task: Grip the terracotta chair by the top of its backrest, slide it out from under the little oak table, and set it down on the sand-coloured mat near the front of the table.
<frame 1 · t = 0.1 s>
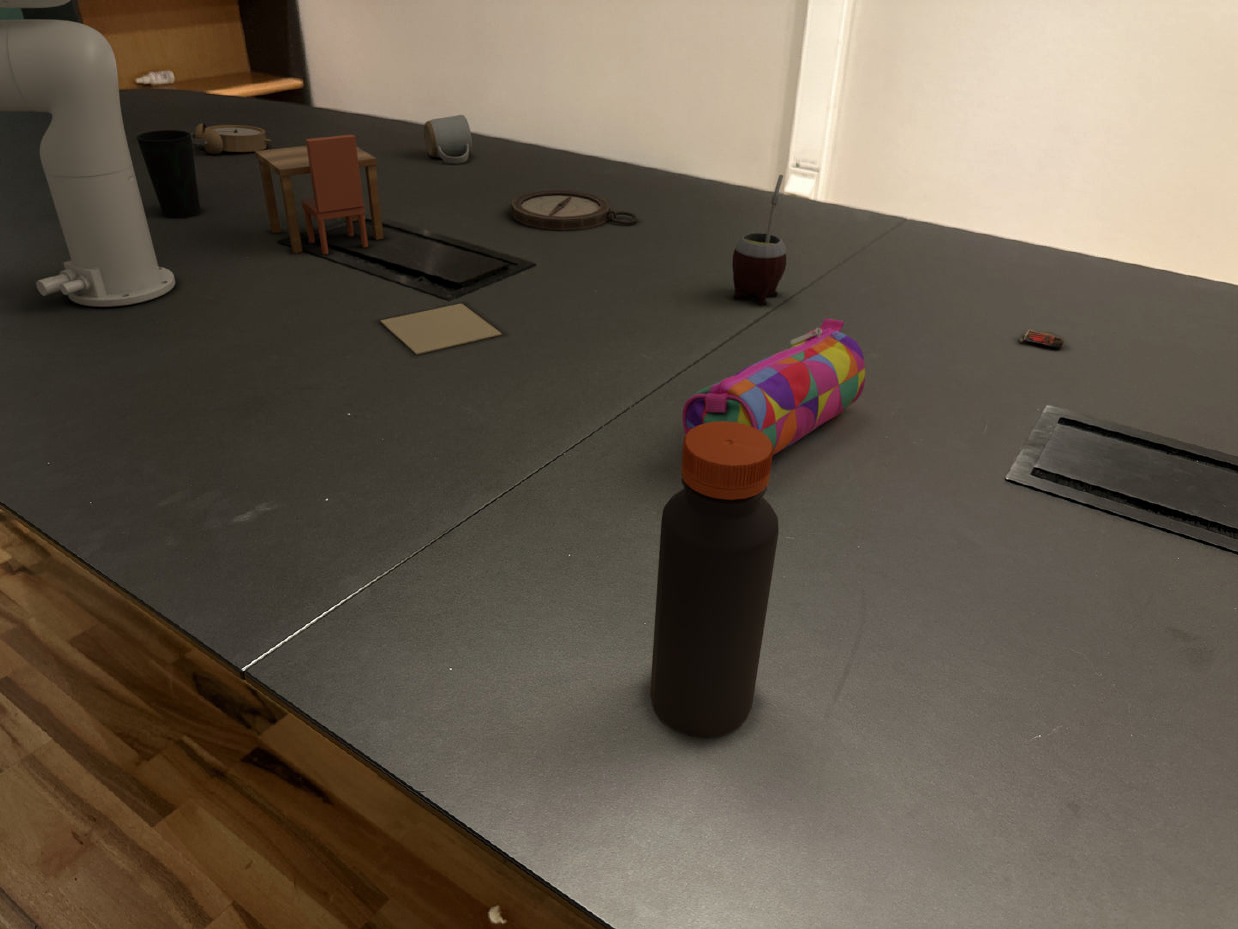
side table: (327, 235, 138), on the table
cup: (181, 213, 145), on the table
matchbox: (1042, 341, 112), on the table
bottle: (700, 702, 60), on the table
mate gourd: (755, 296, 122), on the table
mat: (440, 328, 110), on the table
compass: (566, 218, 149), on the table
alarm clock: (229, 150, 181), on the table
chair: (338, 244, 134), on the table
ceramic mug: (452, 158, 180), on the table
pencil case: (773, 435, 90), on the table
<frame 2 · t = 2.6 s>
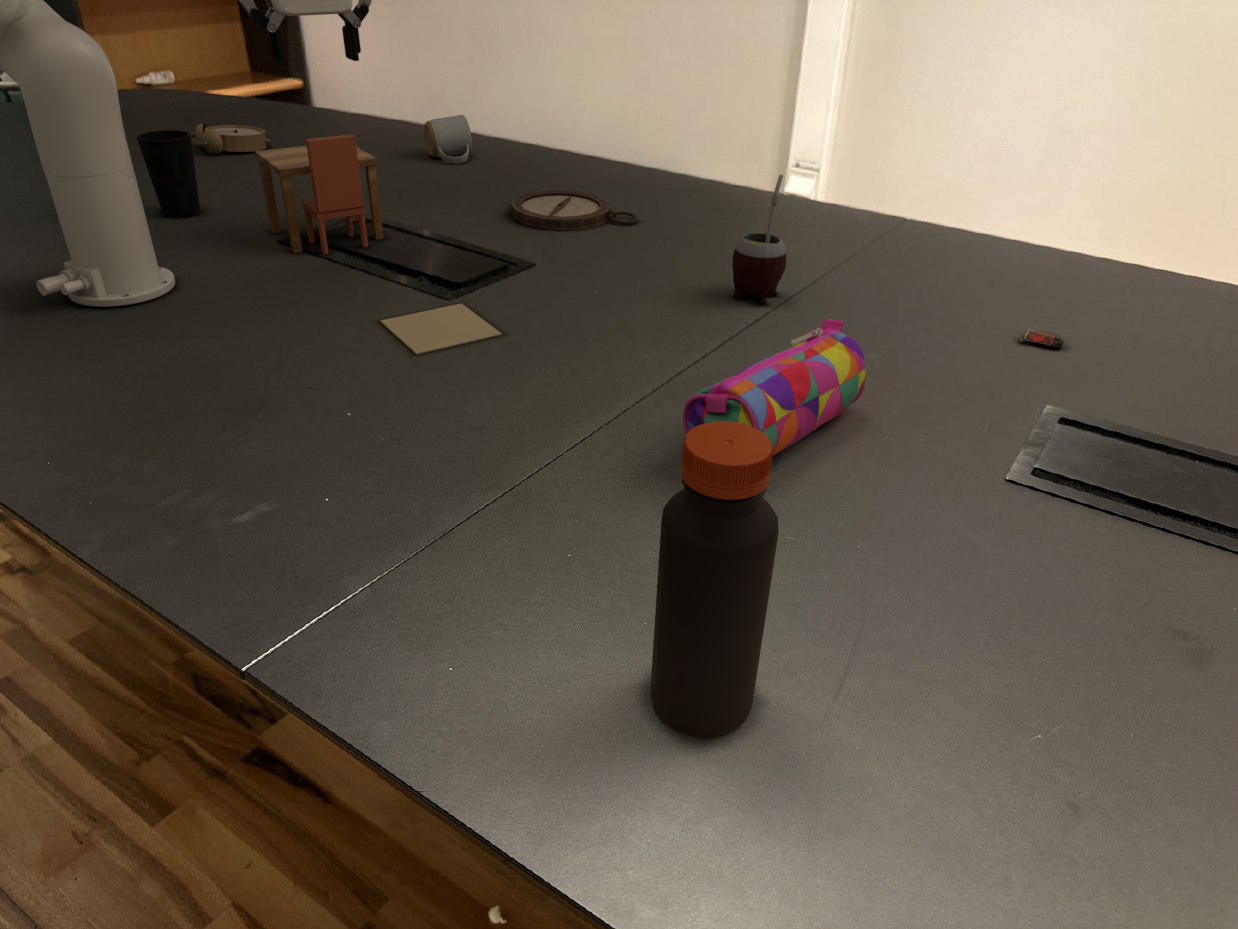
hand: (317, 62, 119), 25 cm above the table, tool pointing down, fingers open, 9 cm apart
nothing on the table moved.
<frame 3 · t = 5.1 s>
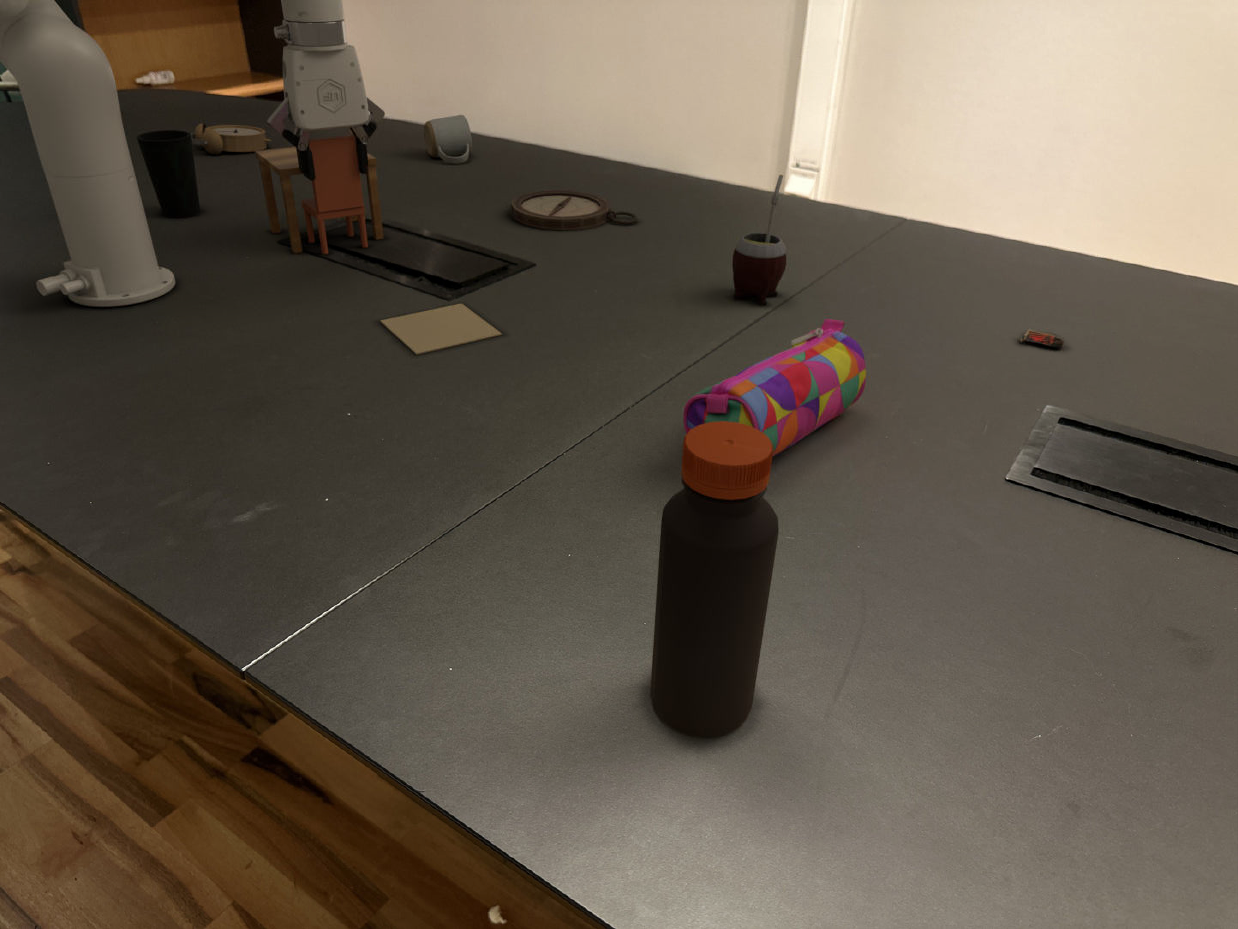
hand: (335, 173, 126), 11 cm above the table, tool pointing down, fingers closed on chair, 6 cm apart
chair: (338, 244, 134), on the table, touching gripper
everything else where it was.
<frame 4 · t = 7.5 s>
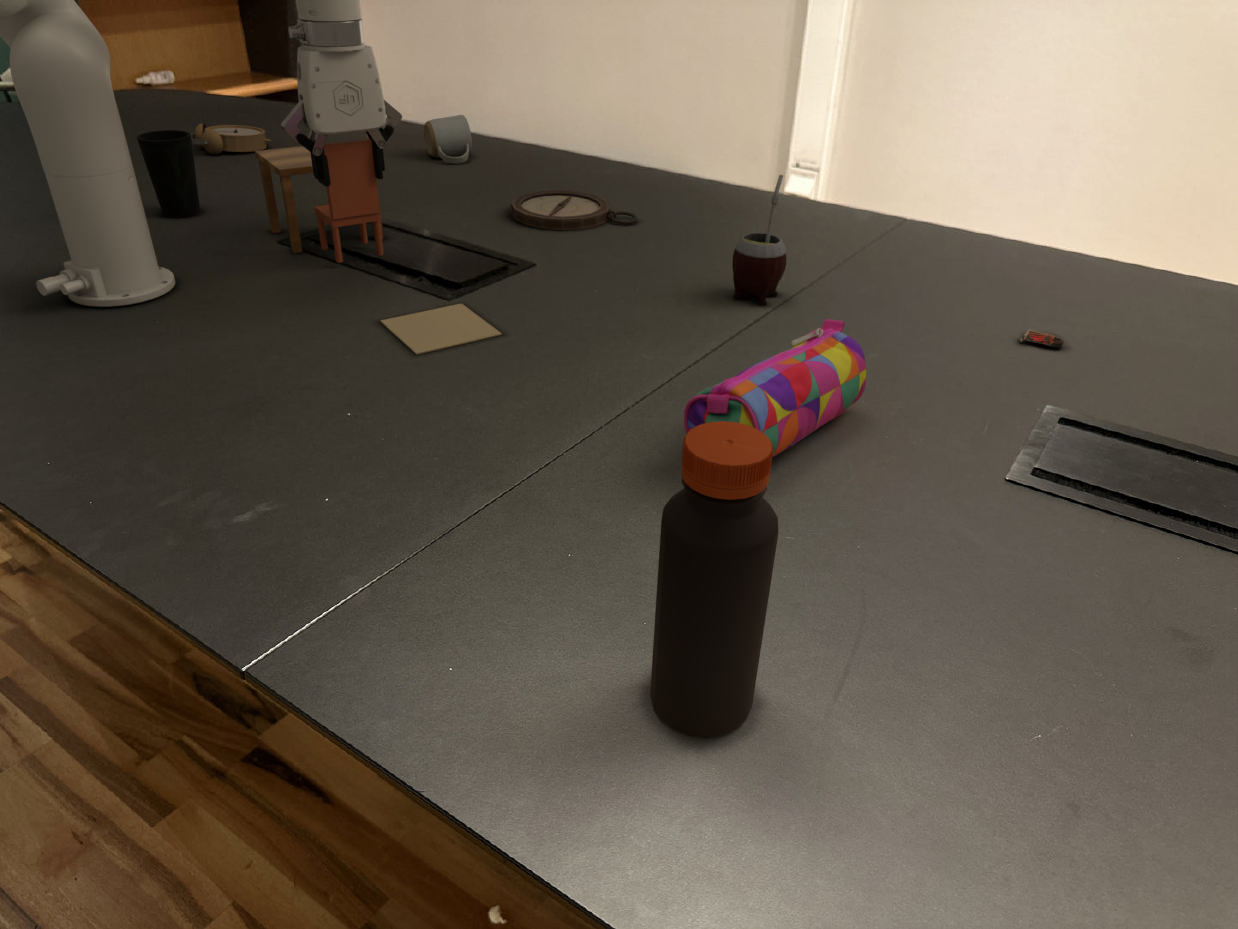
hand: (350, 179, 121), 12 cm above the table, tool pointing down, fingers closed on chair, 6 cm apart
chair: (352, 252, 130), point 1 cm above the table, touching gripper
everything else where it was.
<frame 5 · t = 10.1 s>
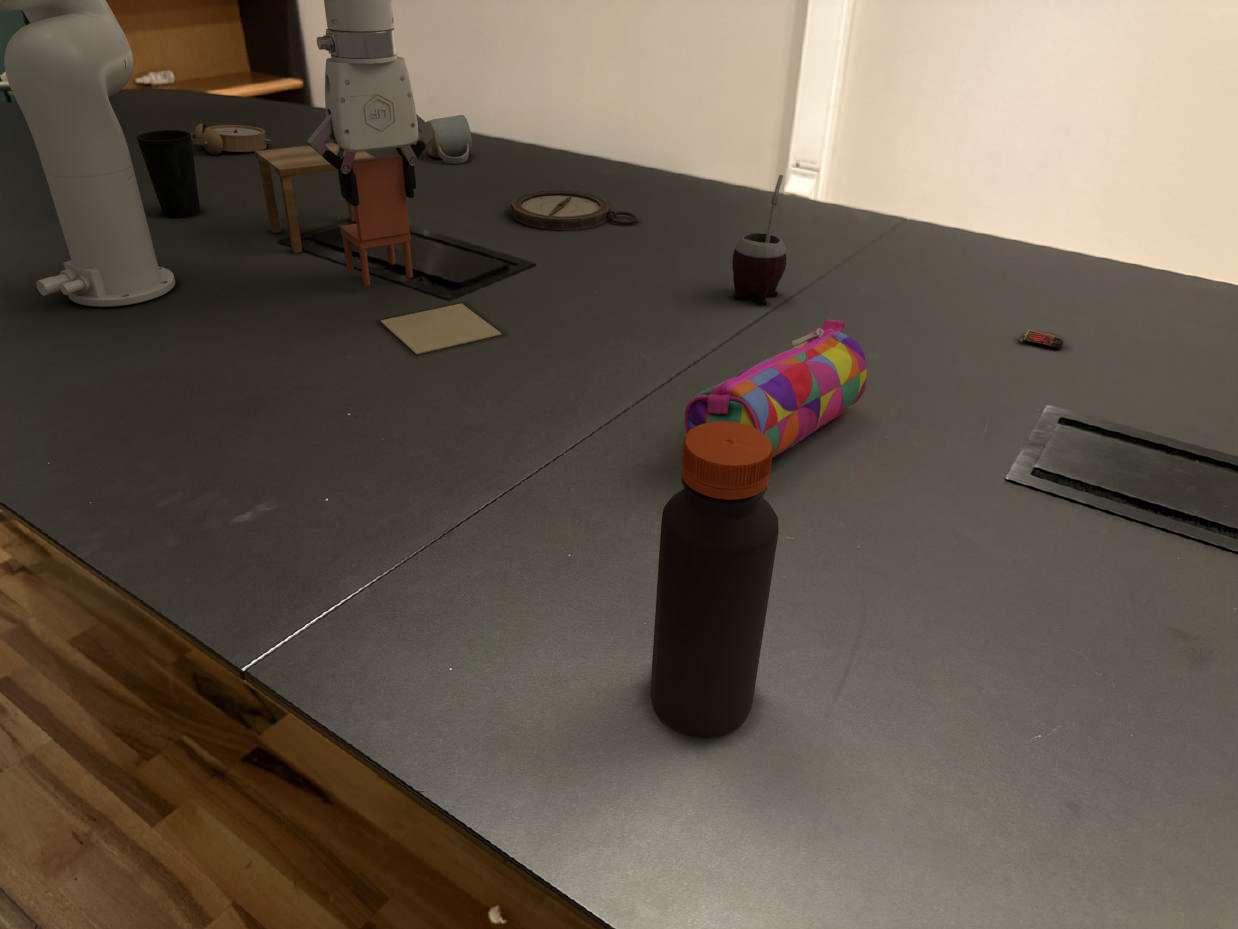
hand: (380, 198, 114), 12 cm above the table, tool pointing down, fingers closed on chair, 6 cm apart
chair: (380, 273, 122), point 1 cm above the table, touching gripper
everything else where it was.
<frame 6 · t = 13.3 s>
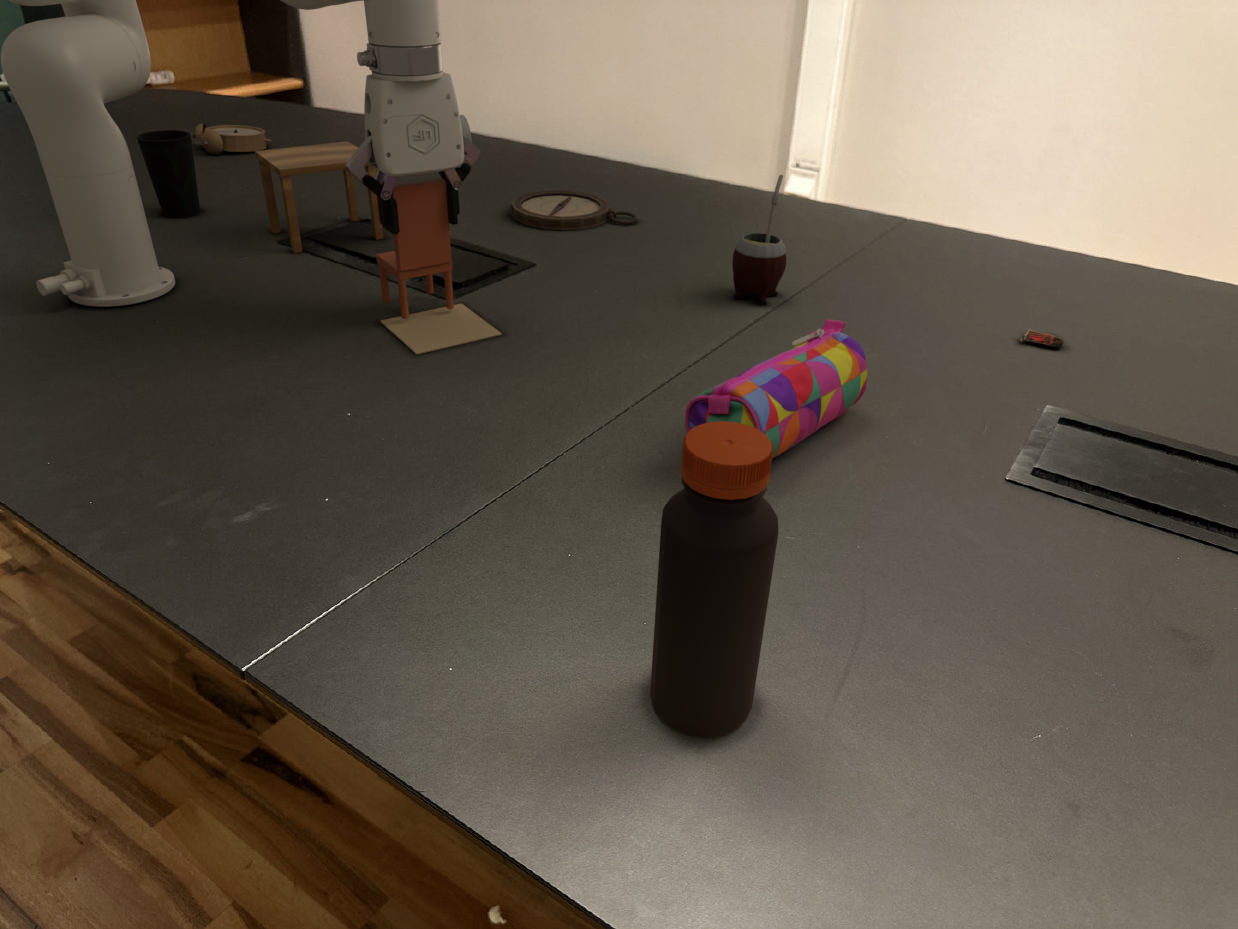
hand: (421, 225, 105), 12 cm above the table, tool pointing down, fingers closed on chair, 6 cm apart
chair: (418, 304, 114), point 1 cm above the table, touching gripper
everything else where it was.
when the fingers open (11 cm above the table, at t = 15.6 s): chair stays where it is, resting on mat.
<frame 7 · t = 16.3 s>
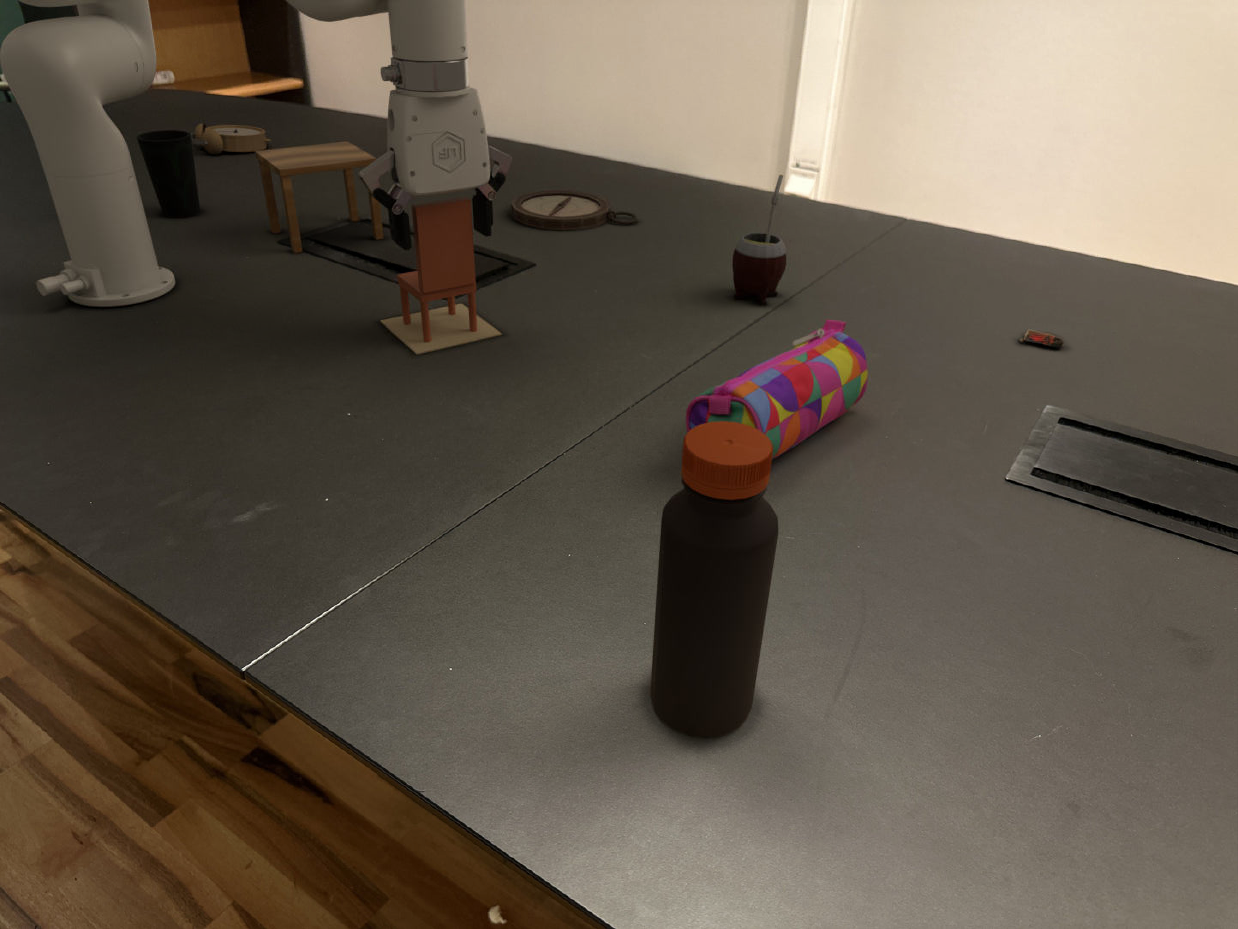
hand: (443, 239, 101), 12 cm above the table, tool pointing down, fingers open, 9 cm apart
chair: (440, 326, 109), resting on mat
everything else where it was.
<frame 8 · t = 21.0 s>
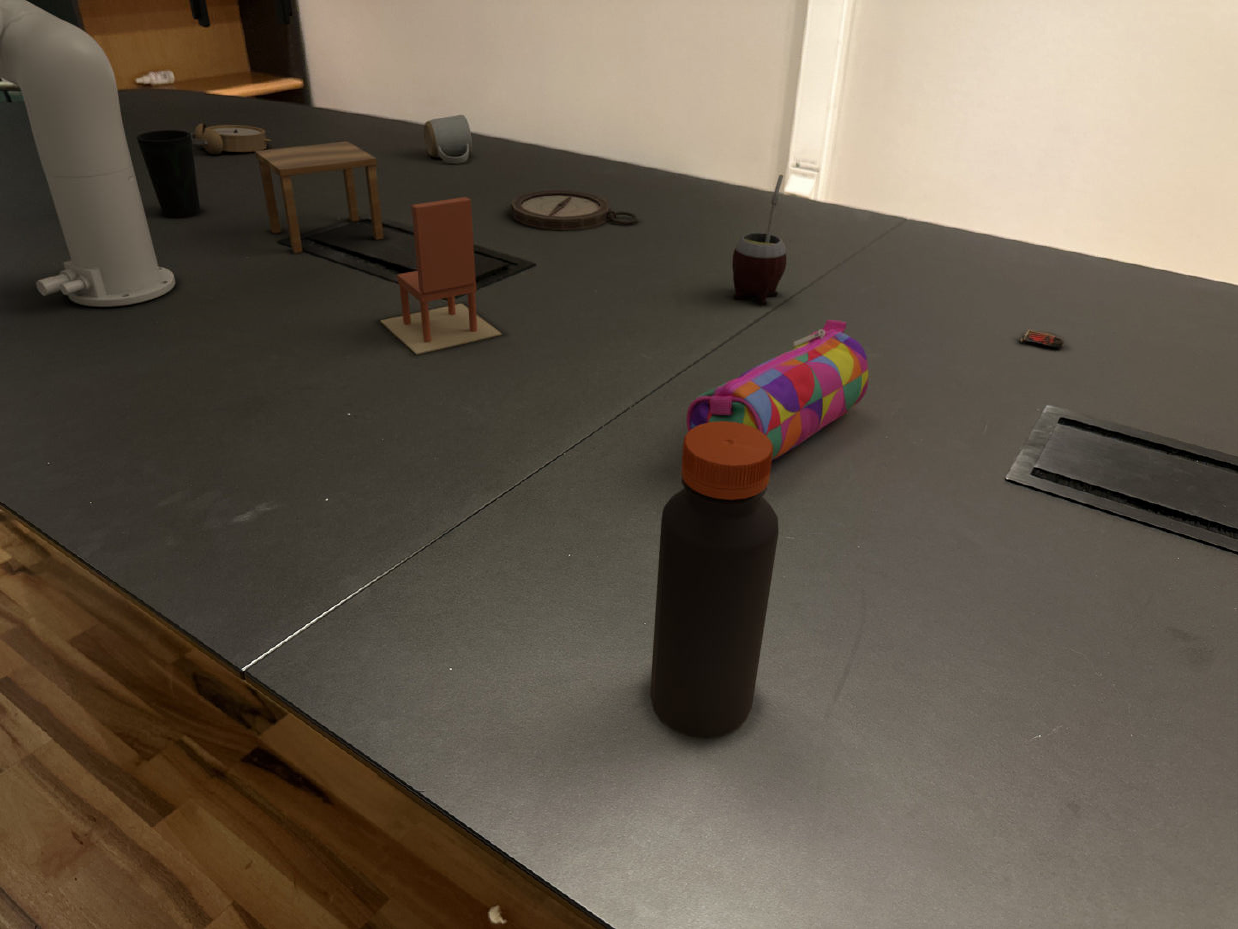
hand: (245, 24, 112), 30 cm above the table, tool pointing down, fingers open, 9 cm apart
nothing on the table moved.
at the end: chair inside the target area on the mat (0.0 cm from its centre), point 0.2 cm above the mat's base; chair tilted 0°; chair moved 36.0 cm from its start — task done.
